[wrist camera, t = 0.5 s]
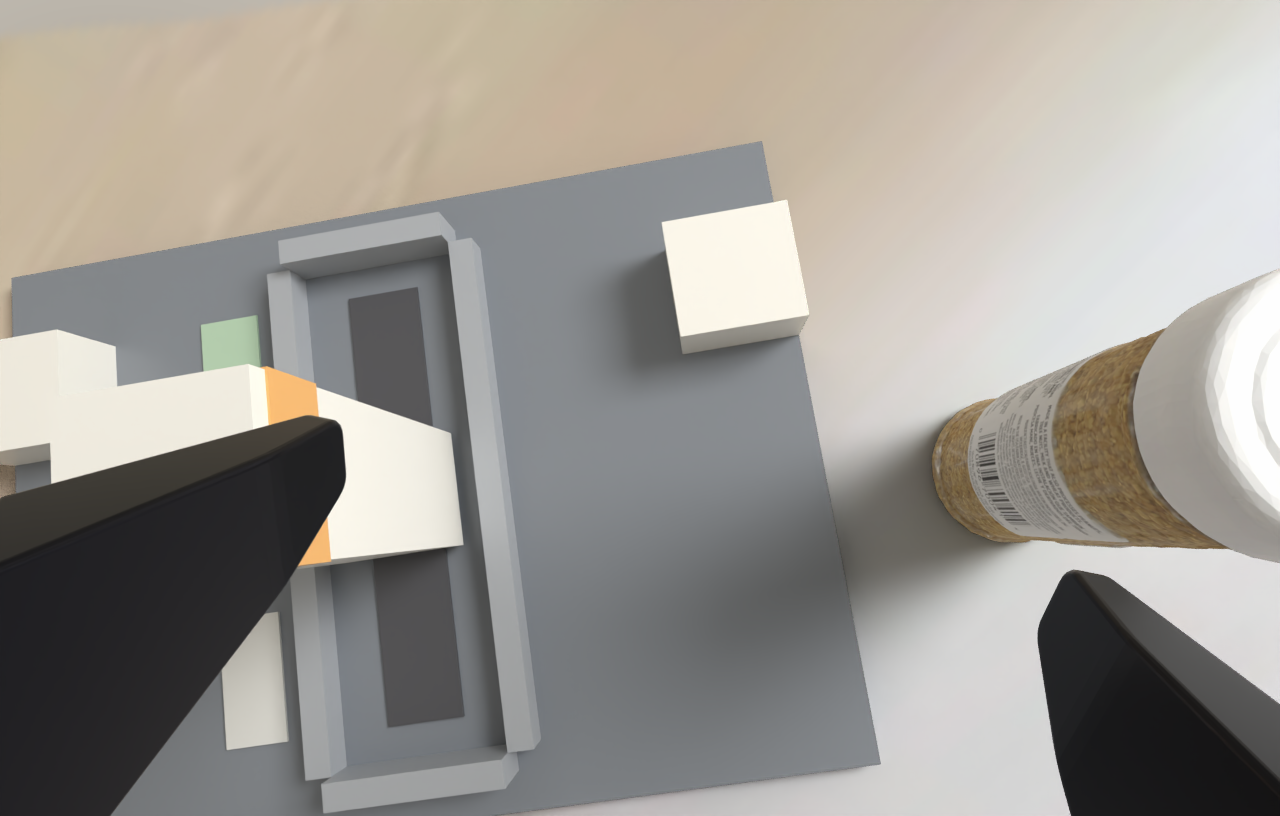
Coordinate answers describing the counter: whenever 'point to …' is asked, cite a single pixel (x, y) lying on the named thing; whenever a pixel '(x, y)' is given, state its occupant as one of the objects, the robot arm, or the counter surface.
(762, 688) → the panel
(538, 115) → the counter surface
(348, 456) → the handle
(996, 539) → the sprinkles bottle
